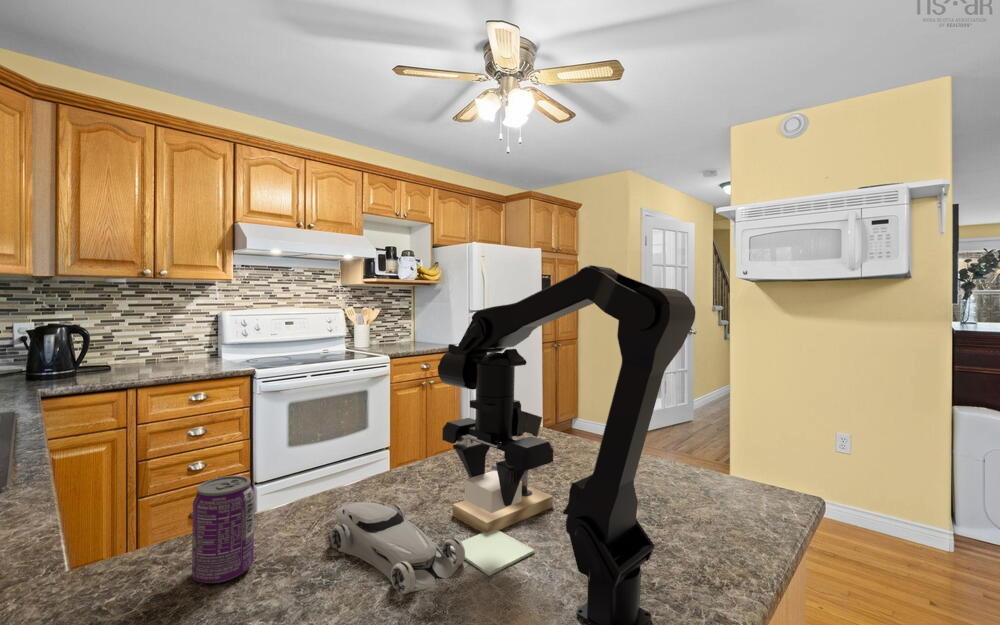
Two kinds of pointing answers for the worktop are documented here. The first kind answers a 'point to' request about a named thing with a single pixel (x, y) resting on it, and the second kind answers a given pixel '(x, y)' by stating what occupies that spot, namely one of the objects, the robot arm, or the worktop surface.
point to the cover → (488, 492)
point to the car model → (394, 545)
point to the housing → (503, 511)
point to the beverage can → (222, 529)
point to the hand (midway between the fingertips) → (493, 498)
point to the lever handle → (523, 479)
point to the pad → (493, 551)
